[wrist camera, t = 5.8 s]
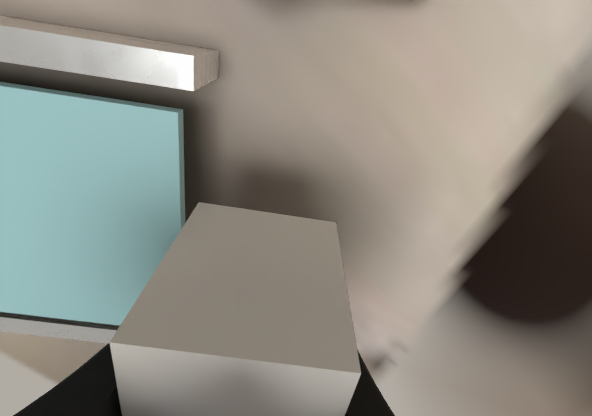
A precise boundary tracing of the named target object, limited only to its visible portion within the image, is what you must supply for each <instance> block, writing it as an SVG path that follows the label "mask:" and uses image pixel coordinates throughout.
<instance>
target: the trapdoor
mask: <svg viewBox="0 0 592 416" xmlns="http://www.w3.org/2000/svg"><path fill="white" fill-rule="evenodd" d="M184 225H185V183H184V132H183V109H178V108H171V107H165V106H158V105H151V104H145V103H138V102H132V101H125V100H118V99H112V98H105V97H98V96H92V95H85V94H79V93H72V92H65V91H59V90H52V89H45V88H39V87H32V86H25V85H19V84H12V83H6V82H0V312H7V313H15V314H24V315H33V316H41V317H50V318H58V319H67V320H76V321H84V322H93V323H101V324H110V325H119V326H120V325H121V324H122V322H123V320H124V319H125V317H126V316H127V314H128V313H129V311H130V309H131V308H132V306H133V305H134V303H135V302H136V300H137V298H138V297H139V295H140V294H141V292H142V291H143V289H144V287H145V286H146V284H147V283H148V281H149V280H150V278H151V276H152V275H153V273H154V272H155V270H156V269H157V267H158V265H159V264H160V262H161V261H162V259H163V258H164V256H165V254H166V253H167V251H168V250H169V248H170V247H171V245H172V243H173V242H174V240H175V239H176V237H177V236H178V234H179V232H180V231H181V229H182V228H183V226H184Z"/></svg>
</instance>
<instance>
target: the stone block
mask: <svg viewBox="0 0 592 416" xmlns="http://www.w3.org/2000/svg"><path fill="white" fill-rule="evenodd" d="M110 348H111V354H112V360H113V366H114V372H115V377H116V383H117V389H118V395H119V401H120V407H121V412H122V416H345V414H346V411H347V408H348V406H349V403H350V401H351V398H352V396H353V393H354V391H355V388H356V385H357V383H358V380H359V378H360V375H361V369H360V363H359V357H358V351H357V345H356V339H355V333H354V327H353V321H352V315H351V309H350V303H349V297H348V291H347V285H346V279H345V273H344V267H343V261H342V255H341V249H340V243H339V237H338V231H337V225H336V222H331V221H324V220H317V219H310V218H303V217H297V216H290V215H283V214H276V213H269V212H263V211H256V210H249V209H242V208H235V207H228V206H222V205H215V204H208V203H201V202H198V204H197V206H196V207H195V209H194V210H193V212H192V213H191V215H190V217H189V218H188V220H187V221H186V223H185V225H184V226H183V228H182V229H181V231H180V232H179V234H178V236H177V237H176V239H175V240H174V242H173V243H172V245H171V247H170V248H169V250H168V251H167V253H166V254H165V256H164V258H163V259H162V261H161V262H160V264H159V265H158V267H157V269H156V270H155V272H154V273H153V275H152V276H151V278H150V280H149V281H148V283H147V284H146V286H145V287H144V289H143V291H142V292H141V294H140V295H139V297H138V298H137V300H136V302H135V303H134V305H133V306H132V308H131V309H130V311H129V313H128V314H127V316H126V317H125V319H124V320H123V322H122V324H121V325H120V327H119V328H118V330H117V331H116V333H115V335H114V336H113V338H112V339H111V341H110Z"/></svg>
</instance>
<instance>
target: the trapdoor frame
mask: <svg viewBox="0 0 592 416" xmlns="http://www.w3.org/2000/svg"><path fill="white" fill-rule="evenodd" d="M0 61H1V62H7V63H14V64H20V65H27V66H33V67H40V68H46V69H53V70H59V71H66V72H72V73H79V74H85V75H92V76H98V77H105V78H111V79H118V80H124V81H131V82H137V83H144V84H150V85H157V86H163V87H170V88H176V89H183V90H189V91H195V90H197V89H199V88H201V87H202V86H204V85H206V84H208V83H210V82H212V81H214V80H216V79H218V74H219V51H218V50H212V49H205V48H199V47H193V46H187V45H181V44H174V43H168V42H162V41H156V40H149V39H143V38H137V37H131V36H125V35H118V34H112V33H106V32H100V31H94V30H87V29H81V28H75V27H69V26H62V25H56V24H50V23H44V22H38V21H31V20H25V19H19V18H13V17H6V16H0ZM119 327H120V326H119V325H110V324H101V323H93V322H84V321H76V320H67V319H58V318H50V317H41V316H33V315H24V314H15V313H7V312H0V331H2V332H10V333H19V334H28V335H37V336H46V337H54V338H63V339H72V340H81V341H90V342H99V343H107V344H108V343H110V341H111V339H112V338H113V336H114V335H115V333H116V331H117V330H118V328H119Z"/></svg>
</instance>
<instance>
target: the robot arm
mask: <svg viewBox="0 0 592 416" xmlns="http://www.w3.org/2000/svg"><path fill="white" fill-rule="evenodd" d="M357 351H358V350H357ZM358 357H359V363H360V369H361V375H360V378H359V380H358V383H357V385H356V388H355V391H354V393H353V396H352V398H351V401H350V403H349V406H348V408H347V411H346V414H345V416H395V415H394V414H393V412H392V411H391V409H390V407H389V406H388V404H387V402H386V401H385V399H384V398H383V396H382V394H381V392H380V391H379V389H378V387H377V386H376V384H375V382H374V380H373V379H372V377H371V375H370V373H369V371H368V369H367V367H366V365H365V363H364V362H363V360H362V358H361V356H360V354H359V352H358ZM13 416H122V412H121V407H120V401H119V395H118V389H117V383H116V377H115V372H114V366H113V360H112V354H111V348H110V343H108V344H107V345H106V346H105V347H104V348H103V349H101V350H100V351H99V352H98V353H97V354H95V355H94V356H93V357H92V358H91V359H90V360H88V361H87V362H86V363H85V364H84V365H82V366H81V367H80V368H79V369H77V370H76V371H75V372H74V373H72V374H71V375H70V376H68V377H67V378H66V379H64V380H63V381H62V382H60V383H59V384H58V385H56V386H55V387H54V388H52V389H51V390H50V391H48V392H47V393H46V394H44V395H43V396H41V397H40V398H38V399H37V400H35V401H34V402H33V403H31V404H30V405H28V406H27V407H25V408H24V409H22V410H21V411H19V412H18V413H17V414H15V415H13Z"/></svg>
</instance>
